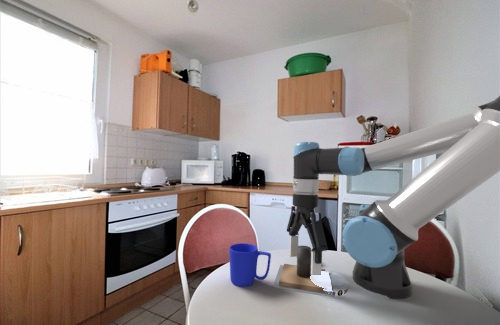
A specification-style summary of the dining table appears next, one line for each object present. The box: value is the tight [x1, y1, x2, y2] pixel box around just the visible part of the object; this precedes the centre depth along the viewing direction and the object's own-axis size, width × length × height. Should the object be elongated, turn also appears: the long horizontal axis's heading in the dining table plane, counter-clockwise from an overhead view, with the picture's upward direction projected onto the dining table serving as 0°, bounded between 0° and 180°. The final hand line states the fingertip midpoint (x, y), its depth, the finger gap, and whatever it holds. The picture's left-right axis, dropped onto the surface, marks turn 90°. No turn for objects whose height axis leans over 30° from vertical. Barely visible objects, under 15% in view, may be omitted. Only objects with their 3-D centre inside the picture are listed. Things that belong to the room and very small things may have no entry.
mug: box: [228, 242, 272, 288], centre depth 66 cm, size 8×12×10 cm
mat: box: [272, 264, 335, 299], centre depth 68 cm, size 16×16×1 cm
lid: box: [279, 245, 326, 293], centre depth 69 cm, size 13×13×9 cm
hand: (303, 264), depth 68 cm, fingers open, 13 cm apart
